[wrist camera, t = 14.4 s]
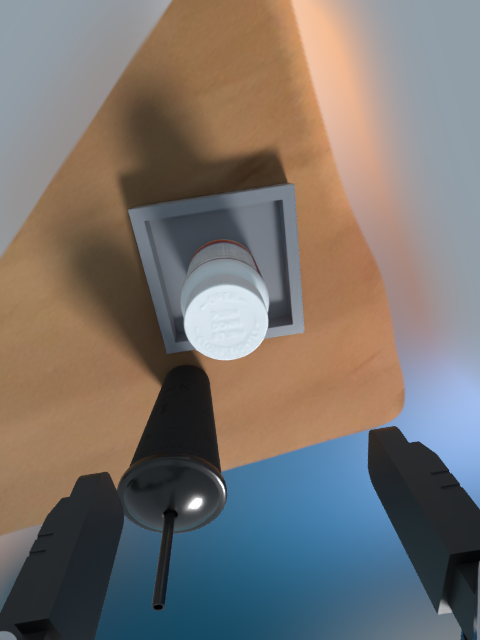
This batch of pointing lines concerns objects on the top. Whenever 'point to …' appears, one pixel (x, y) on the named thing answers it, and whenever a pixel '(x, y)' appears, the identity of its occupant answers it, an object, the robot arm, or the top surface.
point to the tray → (212, 224)
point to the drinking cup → (175, 467)
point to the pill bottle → (224, 301)
